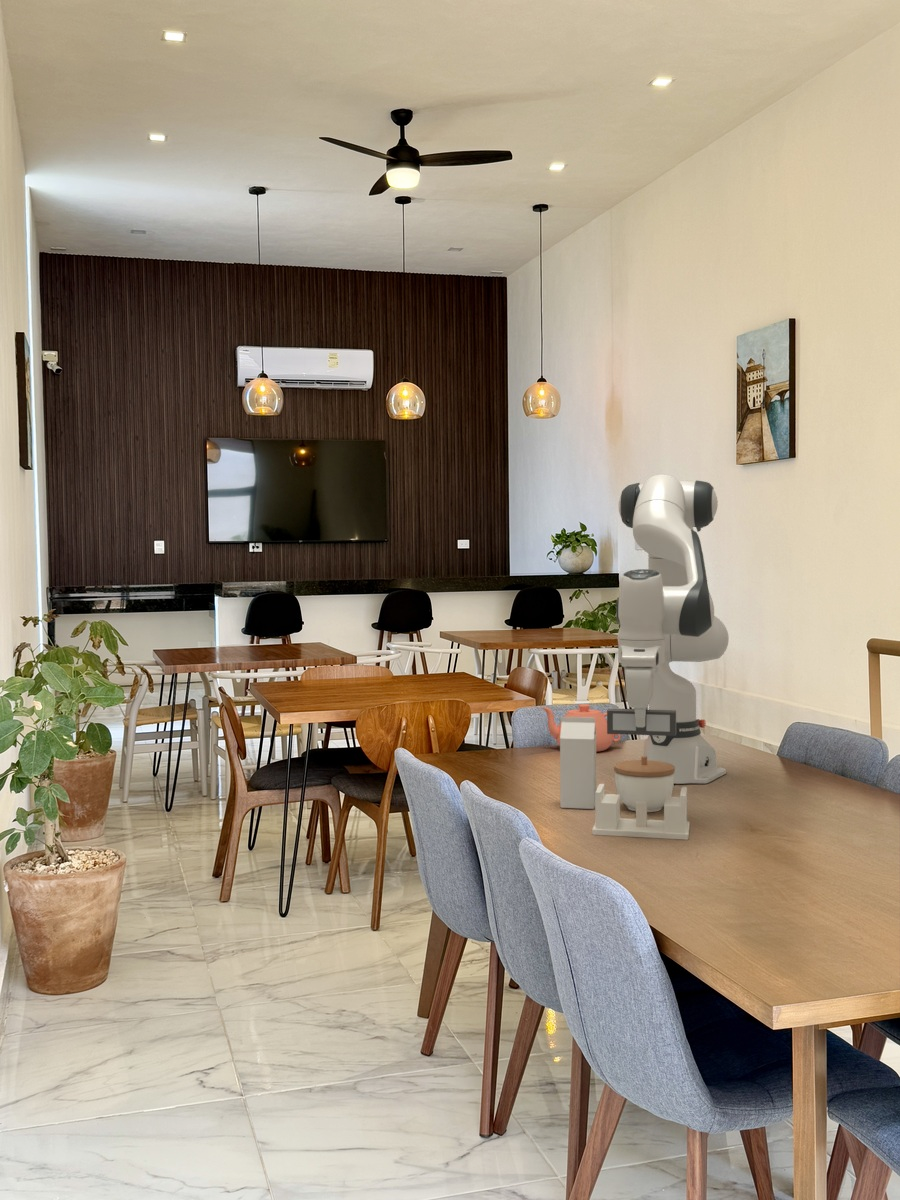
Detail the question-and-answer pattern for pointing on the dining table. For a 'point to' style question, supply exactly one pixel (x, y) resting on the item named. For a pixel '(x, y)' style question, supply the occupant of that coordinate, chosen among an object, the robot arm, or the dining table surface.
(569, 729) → the milk carton
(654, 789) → the lidded bowl
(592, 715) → the teapot
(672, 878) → the dining table surface
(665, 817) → the stand
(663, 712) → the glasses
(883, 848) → the dining table surface
